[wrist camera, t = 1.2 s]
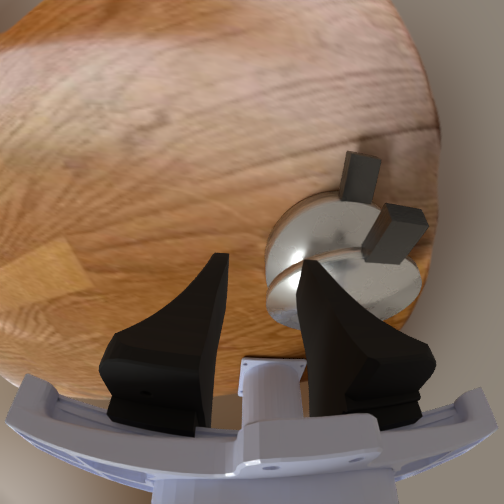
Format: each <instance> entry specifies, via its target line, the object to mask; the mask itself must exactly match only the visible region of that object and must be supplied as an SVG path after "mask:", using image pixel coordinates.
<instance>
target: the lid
mask: <svg viewBox="0 0 504 504" xmlns="http://www.w3.org/2000/svg"><path fill="white" fill-rule="evenodd" d="M428 227H429V225H428V223H427V221H426V218H425V216H424V214H423V212H422V210H421V209H417V208H411V207H406V206H400V205H395V204H389V203H385V204H384V206H383V208H382V210H381V212H380V213H379V215H378V217H377V219H376V221H375V222H374V224H373V226H372V228H371V229H370V231H369V233H368V234H367V236H366V238H365V240H364V241H363V243H362V245H361V247H350V248H342V249H337V250H332V251H327V252H324V253H320V254H317V255H314V256H311V257H309V258H306V259H308V260H317V261H318V262H319V263H320V264H321V265H322V266H323V267H324V268H325V269H326V270H327V272H328V273H329V274H330V275H331V276H332V277H333V278H334V279H335V280H336V281H337V282H338V284H339V285H340V286H341V287H342V288H343V289H344V290H345V291H346V292H347V293H348V294H349V295H351V296H352V297H353V298H354V299H355V300H356V301H357V302H358V303H359V304H361V305H362V306H363V307H364V308H366V309H367V310H368V311H369V312H371V313H372V314H373V315H375V316H376V317H377V318H379V319H380V320H382V321H383V320H385V319H387V318H389V317H392V316H393V315H395V314H397V313H399V312H400V311H402V310H403V309H405V308H406V307H407V306H408V305H410V304H411V303H412V302H413V301H414V299H415V298H416V297H417V295H418V294H419V292H420V289H421V286H422V280H421V276H420V273H419V270H418V267H417V265H416V263H415V262H414V261H413V260H412V259H411V258H410V257H408V256H407V255H408V254H409V252H410V251H411V250H412V248H413V247H414V246H415V245H416V243H417V242H418V241H419V239H420V238H421V237H422V235H423V234H424V233H425V231H426V230H427V229H428ZM303 260H304V259H303ZM303 260H301V261H299V262H297V263H295V264H293V265H291V266H290V267H288V268H286V269H285V270H284V271H282V272H281V273H280V274H278V275H277V276H276V277H275V278H274V279H273V281H272V282H271V283H270V285H269V287H268V289H267V294H266V307H267V311H268V313H269V315H270V316H271V317H272V318H273V319H274V320H276V321H277V322H279V323H281V324H283V325H285V326H288V327H291V328H294V329H299V330H301V329H300V325H299V320H298V315H297V306H296V291H297V287H298V283H299V278H300V274H301V269H302V265H303Z"/></svg>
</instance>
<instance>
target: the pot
mask: <svg viewBox="0 0 504 504" xmlns="http://www.w3.org/2000/svg"><path fill="white" fill-rule="evenodd" d="M380 164H381V159H379V158H378V157H376V156H371V155H367V154H362V153H357V152H352V151H347V152H346V158H345V163H344V168H343V173H342V178H341V183H340V188H339V191H334V192H325V193H320V194H317V195H314V196H311V197H309V198H306V199H304V200H302V201H300V202H299V203H297V204H296V205H294V206H293V207H292V208H290V209H289V210H288V211H287V212H286V213H285V214H284V215H283V216H282V217H281V218H280V219H279V220H278V222H277V223H276V224H275V226H274V227H273V229H272V231H271V233H270V235H269V238H268V240H267V244H266V249H265V270H266V282H267V286H268V287H269V285H270V283H271V282H272V281H273V279H274V278H275V277H276V276H277V275H278V274H280V273H281V272H282V271H284V270H285V269H286V268H288V267H290V266H291V265H293V264H295V263H297V262H299V261H301V260H303V259H306V258H309V257H311V256H314V255H317V254H320V253H324V252H327V251H332V250H337V249H342V248H350V247H361V245H362V243H363V241H364V240H365V238H366V236H367V234H368V233H369V231H370V229H371V228H372V226H373V224H374V222H375V221H376V219H377V217H378V215H379V213H380V212H381V209H380V208H379V207H378V206H377V205H376V204H375V203H373V202H372V198H373V194H374V190H375V186H376V182H377V178H378V173H379V169H380Z"/></svg>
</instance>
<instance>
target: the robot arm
mask: <svg viewBox="0 0 504 504" xmlns="http://www.w3.org/2000/svg"><path fill="white" fill-rule="evenodd" d="M228 266H229V254H227V253H214V254H213V255H212V257H211V258H210V260H209V261H208V263H207V264H206V266H205V267H204V268H203V270H202V271H201V272H200V273H199V274H198V276H197V277H196V278H195V279H194V280H193V281H192V282H191V283H190V285H189V286H188V287H187V288H186V289H185V290H184V291H183V292H182V293H181V294H180V295H178V296H177V297H176V298H175V299H174V300H173V301H171V302H170V303H169V304H168V305H166V306H165V307H164V308H162V309H161V310H159V311H158V312H157V313H155V314H153V315H152V316H150V317H148V318H147V319H145V320H143V321H141V322H139V323H137V324H135V325H133V326H131V327H129V328H127V329H124V330H122V331H120V332H117V333H115V334H114V336H113V338H112V339H111V341H110V342H109V344H108V346H107V348H106V350H105V353H104V355H103V358H102V360H101V362H100V365H99V373H100V376H101V378H102V379H103V381H104V383H105V385H106V386H107V388H108V390H109V391H110V393H111V395H112V397H111V401H110V404H109V407H108V410H107V409H104V408H100V407H97V406H93V405H90V404H87V403H84V402H80V401H77V400H74V399H71V398H69V397H66V396H63V395H60V394H59V393H58V391H57V390H56V388H55V387H54V386H53V385H52V384H50V383H49V382H47V381H45V380H43V379H40V378H38V377H35V376H33V375H31V374H26V375H25V377H24V379H23V381H22V383H21V385H20V387H19V389H18V392H17V394H16V397H15V398H14V400H13V403H12V405H11V407H10V410H9V412H8V414H7V417H6V420H5V423H6V424H7V425H8V426H9V427H11V428H12V429H13V430H14V431H15V432H17V433H18V434H19V435H20V436H22V437H23V438H24V439H25V440H27V441H28V442H29V443H31V444H32V445H33V446H35V447H36V448H38V449H40V450H42V451H44V452H46V453H48V454H50V455H52V456H54V457H56V458H58V459H60V460H62V461H65V462H67V463H69V464H71V465H74V466H76V467H78V468H81V469H83V470H85V471H88V472H91V473H93V474H95V475H98V476H101V477H104V478H106V479H109V480H112V481H115V482H118V483H121V484H124V485H127V486H131V487H134V488H138V489H142V490H145V491H149V492H153V495H152V502H151V504H399V501H398V495H397V489H396V484H395V482H397V481H399V480H403V479H405V478H408V477H411V476H414V475H416V474H419V473H421V472H424V471H426V470H428V469H431V468H433V467H436V466H438V465H440V464H442V463H445V462H447V461H449V460H451V459H453V458H456V457H458V456H460V455H462V454H464V453H466V452H467V451H469V450H470V449H472V448H473V447H475V446H476V445H477V444H479V443H480V442H482V441H483V440H484V439H486V438H487V437H488V436H490V435H491V434H492V433H494V432H495V431H496V430H497V429H498V426H497V423H496V420H495V418H494V415H493V413H492V411H491V408H490V406H489V404H488V401H487V399H486V397H485V394H484V392H483V390H482V388H481V387H479V388H476V389H473V390H470V391H467V392H465V393H464V394H462V395H461V396H460V397H458V398H457V399H456V401H455V402H454V403H452V404H450V405H446V406H443V407H439V408H436V409H433V410H429V411H425V412H421V410H420V407H419V404H418V400H420V398H421V396H420V393H419V389H420V388H421V387H422V386H423V385H424V384H425V382H426V381H427V380H428V379H429V378H430V377H431V375H432V374H433V372H434V370H435V367H436V360H435V358H434V356H433V354H432V352H431V350H430V348H429V346H428V344H426V343H423V342H421V341H419V340H417V339H414V338H412V337H410V336H408V335H406V334H404V333H402V332H400V331H398V330H396V329H395V328H393V327H391V326H390V325H388V324H386V323H385V322H383V321H382V320H380V319H379V318H377V317H376V316H375V315H373V314H372V313H371V312H369V311H368V310H367V309H366V308H364V307H363V306H362V305H361V304H359V303H358V302H357V301H356V300H355V299H354V298H353V297H352V296H351V295H349V294H348V293H347V292H346V291H345V290H344V289H343V288H342V287H341V286H340V285H339V284H338V282H337V281H336V280H335V279H334V278H333V277H332V276H331V275H330V274H329V273H328V272H327V270H326V269H325V268H324V267H323V266H322V265H321V264H320V263H319V262H318V261H317V260H308V259H304V260H303V265H302V269H301V274H300V278H299V283H298V287H297V291H296V306H297V315H298V320H299V325H300V329H301V334H302V339H303V343H304V348H305V353H306V359H307V361H306V360H305V359H268V358H247V357H246V358H243V359H242V361H241V371H240V380H239V389H238V395H239V396H242V397H243V403H242V429H241V430H227V429H215V428H211V413H212V400H213V387H214V375H215V364H216V355H217V348H218V344H219V339H220V334H221V329H222V324H223V319H224V315H225V310H226V299H227V287H228ZM306 364H307V369H308V384H309V410H310V411H309V412H310V417H309V418H303V409H302V400H301V392H300V384H299V381H300V379H301V377H302V374H303V372H304V369H305V367H306Z"/></svg>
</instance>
